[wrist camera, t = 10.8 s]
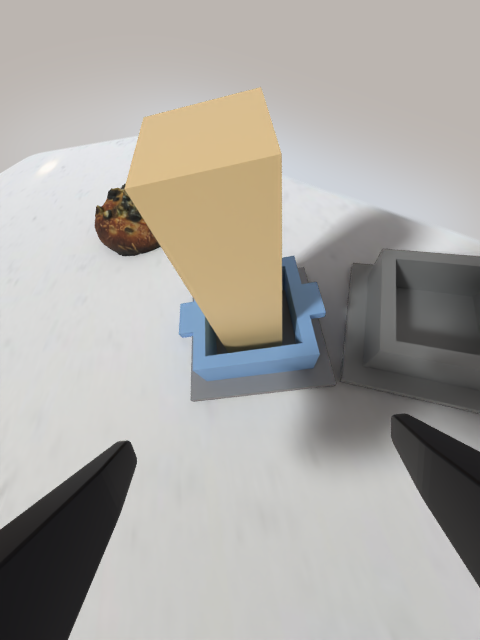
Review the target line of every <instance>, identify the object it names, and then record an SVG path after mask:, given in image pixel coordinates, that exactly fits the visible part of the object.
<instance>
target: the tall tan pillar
mask: <svg viewBox="0 0 480 640" xmlns="http://www.w3.org/2000/svg"><path fill="white" fill-rule="evenodd" d="M281 163H282V157H281V151H280V147H279V144H278V141H277V138H276V134H275V131H274V128H273V125H272V121H271V118H270V115H269V112H268V108H267V105H266V102H265V99H264V95H263V93H262V89H261V87H260V88H256V89H252V90H248V91H245V92H240V93H236V94H232V95H229V96H225V97H221V98H217V99H213V100H209V101H205V102H202V103H198V104H194V105H190V106H186V107H182V108H179V109H174V110H171V111H167V112H163V113H159V114H155V115H151V116H147V117H144V118H143V122H142V125H141V129H140V133H139V137H138V140H137V144H136V148H135V152H134V155H133V159H132V163H131V166H130V170H129V174H128V178H127V181H126V185H125V191H126V192H127V194H128V195H129V197H130V199H131V200H132V202H133V203H134V205H135V206H136V208H137V210H138V211H139V213H140V214H141V216H142V218H143V219H144V221H145V222H146V224H147V225H148V227H149V229H150V230H151V232H152V233H153V235H154V236H155V238H156V240H157V241H158V243H159V244H160V246H161V247H162V249H163V251H164V252H165V254H166V255H167V257H168V259H169V260H170V262H171V263H172V265H173V266H174V268H175V270H176V271H177V273H178V274H179V276H180V277H181V279H182V281H183V282H184V284H185V285H186V287H187V289H188V290H189V292H190V293H191V295H192V296H193V298H194V300H195V301H196V303H197V304H198V306H199V307H200V309H201V311H202V312H203V314H204V315H205V317H206V318H207V320H208V322H209V323H210V325H211V326H212V328H213V330H214V331H215V333H216V334H217V336H218V337H219V339H220V341H221V342H222V344H223V345H224V347H225V348H226V350H227V352H228V353H234V352H241V351H248V350H256V349H263V348H271V347H278V346H282V164H281Z"/></svg>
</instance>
